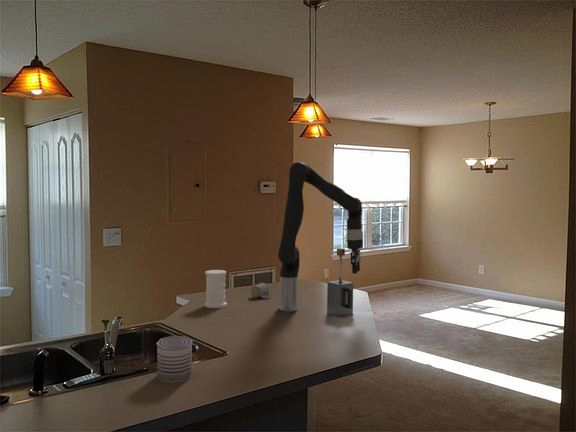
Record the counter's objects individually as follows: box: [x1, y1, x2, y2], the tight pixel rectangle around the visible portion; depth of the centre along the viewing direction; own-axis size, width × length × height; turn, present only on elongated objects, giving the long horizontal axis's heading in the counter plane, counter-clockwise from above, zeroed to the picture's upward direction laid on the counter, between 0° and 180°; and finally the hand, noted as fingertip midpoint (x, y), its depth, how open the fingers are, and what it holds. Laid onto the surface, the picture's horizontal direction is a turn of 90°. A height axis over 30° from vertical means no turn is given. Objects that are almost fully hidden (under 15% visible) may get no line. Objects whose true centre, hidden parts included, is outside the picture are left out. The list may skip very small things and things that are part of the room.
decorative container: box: [204, 269, 228, 309], centre depth 268 cm, size 12×12×18 cm
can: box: [155, 335, 194, 384], centre depth 168 cm, size 11×11×12 cm
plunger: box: [336, 248, 346, 283], centre depth 251 cm, size 7×7×20 cm
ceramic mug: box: [250, 282, 271, 300], centre depth 289 cm, size 11×8×8 cm
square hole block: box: [326, 279, 354, 318], centre depth 251 cm, size 12×9×16 cm
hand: (356, 272), depth 246 cm, fingers open, 8 cm apart
